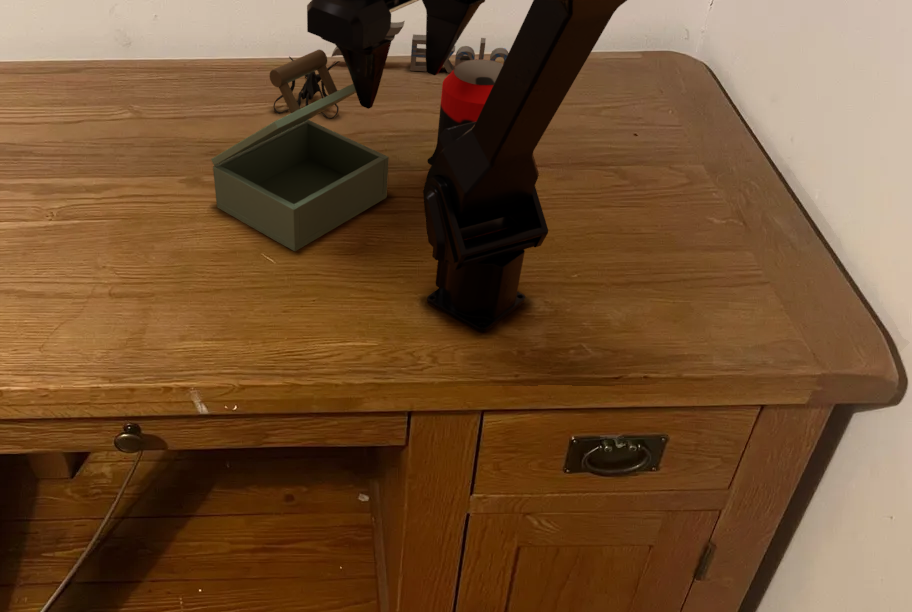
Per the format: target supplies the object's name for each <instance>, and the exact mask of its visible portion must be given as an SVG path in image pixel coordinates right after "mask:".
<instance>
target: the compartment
mask: <svg viewBox="0 0 912 612" xmlns="http://www.w3.org/2000/svg"><path fill="white" fill-rule="evenodd" d="M389 162H390V157H389V156H388V155H386V154H384V153H381V152H379V151H378V150H376V149H372V148H370V147H368V146H366V145H365V144H362V143H360V142H358V141H356V140H354V139H351V138H349V137H348V136H345V135H343V134H341V133H339V132H336V131H334V130H332V129H329V128H327V127H326V126H323V125H321V124H319V123H316V122H314V121H313V120H311V119H308V120H306V121H304V122H302V123H300V124H298V125H296V126H294V127H292V128H290V129H288V130H286V131H284V132H282V133H280V134H278V135H276V136H274V137H272V138H270V139H268V140H266V141H264V142H261V143H259V144H257V145H255V146H253V147H251V148H249V149H247V150H245V151H243V152H241V153H239V154H237V155H235V156H233V157H231V158H229V159H227V160H225V161H223V162H221V163H219V164H217V165H215V166H214V165H213V166H212V172H213V180H214V183H213V184H214V193H215V201H216V202H215V203H216V208H217V209H219V210H221V211H223V212H225V213H226V214H228V215H229V216H231V217H233V218H235V219H237V220H238V221H240V222H242V223H243V224H245V225H247V226H249V227H250V228H253V230H256V231H258V232H259V233H261V234H263V235H265V236H267V237H268V238H271V239H272V240H273V241H275V242H277V243H279V244H280V245H282V246H284V247H285V248H288V249H289V250H291V251H293V252H297V251H299V250H301V249H302V248H303V247H306V246H307V245H309V244H311V243H313V242H315V240H317V239H319V238H321V237H322V236H324V235H325V234H327V233H329V232H331V231H332V230H334V229H336V228H338V227H340V226H341V225H342V224H344V223H346V222H348V221H350V220H352V219H353V218H354V217H356V216H358V215H360V214H362V213H364V212H365V211H367V210H369V209H370V208H371V207H374V206H375V205H376V204H378V203H381V202H382V201H383V200H385V199H387V196H388V181H389V180H388V179H389Z"/></svg>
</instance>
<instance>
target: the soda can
mask: <svg viewBox="0 0 912 612" xmlns="http://www.w3.org/2000/svg"><path fill="white" fill-rule="evenodd" d="M502 66H503V63H502V62H499V61H496V60H495V61H492V60H490V59H483V60H479V59H475V60H469V61H465V62H462V63H460V64H458V65H457V66H456V67H455V66H454V69H453V71H452V72H451V73H448V75H447V76H445V78H444V79H443V82H442V85H441V96H440V107H439V118H438V126H437V127H438V129H437V139H436V143H437V142H438V138H439V136H440V135H441V133H442V132H443V131H444V129H446V128H450V127H454V126H458V125H463V124H467V123H471V122H476V121H477V119H478V117H479V115H480V113H481V111H482V108H483V106H484V104H485V102H486V100H487V98H488V96H489V94H490V91H491V89H492V87H493V85H494V83H495V81H496V79H497V77H498V75H499V72H500V70H501V68H502Z"/></svg>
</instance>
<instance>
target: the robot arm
mask: <svg viewBox="0 0 912 612" xmlns="http://www.w3.org/2000/svg"><path fill="white" fill-rule="evenodd" d="M419 1H420V0H310V1H309V2H308V3H307V5H306V23H307V25H306V26H307V27H306V32H307V33H310V34H311V35H315V36H317V37H319V38H320V39H322V40H323V41H326V42H329V43H331V44H333V45H335V47H336V46H337V47H338V49H339V50H340V52H341V54H342V55H341V56H342V57H343V61H344V63H345V65H346V67H347V69H348V73H349V76H350V79H351V81H352V84H354V87H355V90H356V93H355V94H356V96H357V99H358V102H359V104H360V106H361V107H362V108H363V107H364V108H365V109H368V110H369V109H372V108H373V106H374V103H375V100H376V97H377V95H378V91H379V88H380V84H381V81H382V78H383V73H384V70H385V66H386V63H387V59H388V56H389V53H390V52H389V51H390V49H391V44H392V41H391V40H389V39H386V38H385V37H386V35H387V33H388V31H389V30H390V28H391V22H392V13H393V12H396V11H398V10H401V9H403V8H405V7H408V6H409V5H412V4H415V3H417V2H419ZM627 1H628V0H533V1H532V2H531V5H530V7H529V9H528V10H527V13H526V15H525V17H524V19H523V22H522V24H521V25H520V28H519V30H518V32H517V35H516V37H515V38H514V41H513V43H512V45H511V47H510V49H509V51H508V55H507V58H506V60H505V62H504V61H503V63H504V64H503V63H502V64H503V66H502V68H501V70H500V72H499V75H498V77H497V79H496V81H495V83H494V85H493V87H492V89H491V91H490V94H489V96H488V98H487V100H486V102H485V104H484V106H483V108H482V111H481V113H480V115H479V117H478V119H477V121H476V122H471V123H467V124H463V125H458V126H454V127H450V128H446V129H444V131H443V132H442V133H441V135H440V136H439V138H438V137H437V138H438V142H437V141H436V145H435V149H434V152H433V153H432V155H431V156H430V157H429V158H427V163H428V165H430V167H429V169H428V171H427V173H426V174H427V175H426V178H425V182H424V185H423V190H422V197H423V204H424V205H423V207H424V217H425V229H426V236H427V242H428V244H429V245H430V246H431V247H432V258H433V259H434V260H435V261H437V264H436V273H435V287H436V288H437V289H436V290H433V292H431V293H429V294H428V295H427V296H426V303H427V304H428V305H430V306H432V307H434V308H436V309H437V310H439V311H441V312H443V313H444V314H446V315H448V316H449V317H451V318H453V319H455V320H457V321H459V322H460V323H462V324H464V325H466V326H468V327H470V328H472V329H474V330H475V331H477V332H478V333H486V332H487V331H489V330H490V329H491V328H493V327H494V326H495V325H497V324H498V323H499V322H501V321H503V319H505V318H506V317H507V316H508V315H510V314H511V313H512V312H514V311H515V310H516V309H517V308H519V307H521V306H522V305H523V304H524V303H525V302H526V295H525V294H523V293H522V292H520V291H519V285H520V279H521V273H522V268H523V262H524V257H525V252H526V251H525V250H527V249H531V248H538V247H541V246H542V245H543V243H544V241H545V239H546V238H547V236H548V234H549V227H548V224H547V221H546V218H545V214H544V211H543V207H542V203H541V201H540V198H539V194H538V192H537V187H536V184H537V181H538V179H539V177H540V172H539V170H538V166H537V162H536V158H535V156H534V152H535V149H536V147H537V146H538V144H539V143H540V140H541V139H542V138H543V136H544V133H545V132H546V131H547V128H548V127H549V125H550V123H551V122H552V120H553V119H554V117H555V115H556V113H557V112H558V110H559V108H560V106H561V104H562V102H563V101H564V99H565V98H566V96H567V95H568V93H569V91H570V89H571V87H572V86H573V84H574V82H575V80H577V77H578V75H579V74H580V72H581V70H582V68H583V67H584V65H585V63H586V62H587V60H588V58H589V56H590V55H591V53H592V51H593V49H594V48H595V46H596V44H597V43H598V41H599V39H600V37H601V36H602V34H603V32H604V31H605V29H606V27H607V25H608V24H609V22H610V20H611V19H612V17H613V15H614V14H615V13H616V11H617V10H618V9H619V8H620V7H621V6H622V5H623V4H624V3H626V2H627ZM421 2H422V4H423V5H424V8H425V13H426V17H425V18H426V19H425V21H426V22H425V23H426V25H425V26H426V27H425V35H426V45H425V49H426V58H425V62H426V70H427V71H426V72H427V74H430V75H431V76H437V75H438V74H440V71H441V69H442V68H443V67H444V65H443V64H444V63H445V61H446V59H447V57H448V56H449V54H450V52H451V51H452V49H453V47H454V46H456V44H457V42H458V40H459V39H460V37H461V36H462V34H463V33H464V31H465V30H466V27H467V26H468V25H469V23H470V21H471V20H472V18H473V17H474V15H475V14H476V12H477V11H478V9H479V7H481V5H482V4H484V3H485V2H486V0H421ZM442 66H443V67H442Z"/></svg>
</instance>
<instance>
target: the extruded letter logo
mask: <svg viewBox="0 0 912 612" xmlns="http://www.w3.org/2000/svg"><path fill="white" fill-rule="evenodd" d="M404 26H405V20H403V21H398V22H392V21H391V28H390V30H389V31H388V33H387V35H386V37H385V38H386V39H389V40H391V42H392V41H394V40H395V37H396V35H399V33H400V32H401V31H402V29H403V28H404ZM486 41H487V38H486V37H481V38H480V44H479V51H478V60H485V59H484V58H485V51H486V50H485V49H486ZM418 45H425V46H426V34H414V33H413V34H412V38H411V51H410V67H409V71H412V72H427V70H426V61H417V59H419V58H421V59H426V47H425V48H424V47H418ZM454 53H455V59H454V65H453V63H452V62H451V60H450V58H451V57H452V55H454ZM508 53H509V51H508V49H506V48H504V47H497V48H494V49H493V50H492V51H491V53H490V55H489V60H492V61H496V60H497V59H498V58H502V59H503V63H502V64H504V62H505V60H506V58H507V55H508ZM337 56H338V57H339V56H342V54H341V52H340V50H339V49H338V47H337V46H336V45H335V48H334V49H333V51H332V53H331V56H330V57H331V58H333V57H337ZM469 60H476V53H475V50H474V49H473V48H472V47H471V46H469V45H463V46H460V47H459V48H458V49H457V50H456V45H454V47H453V49H452V51H451V52H450V54H449V56H448V57H447V59H446V61H445V63H444V64H443V66H442V68H443V67H444V69H445V70H446V72H447V73H448V74H450V73H451V72H452V71H453V70H454V68H455V67H456V66H457V65H458V64H460V63H462V62H465V61H469Z"/></svg>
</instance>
